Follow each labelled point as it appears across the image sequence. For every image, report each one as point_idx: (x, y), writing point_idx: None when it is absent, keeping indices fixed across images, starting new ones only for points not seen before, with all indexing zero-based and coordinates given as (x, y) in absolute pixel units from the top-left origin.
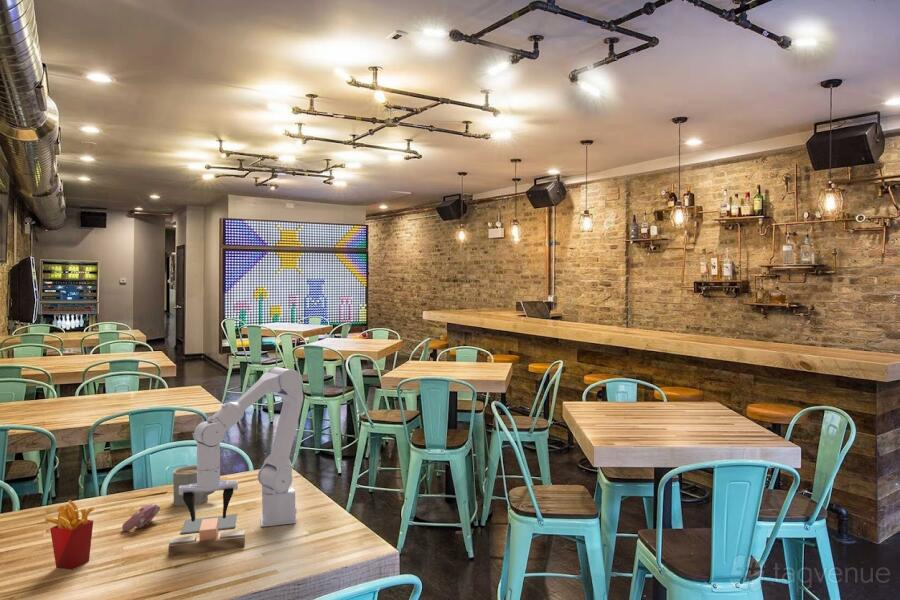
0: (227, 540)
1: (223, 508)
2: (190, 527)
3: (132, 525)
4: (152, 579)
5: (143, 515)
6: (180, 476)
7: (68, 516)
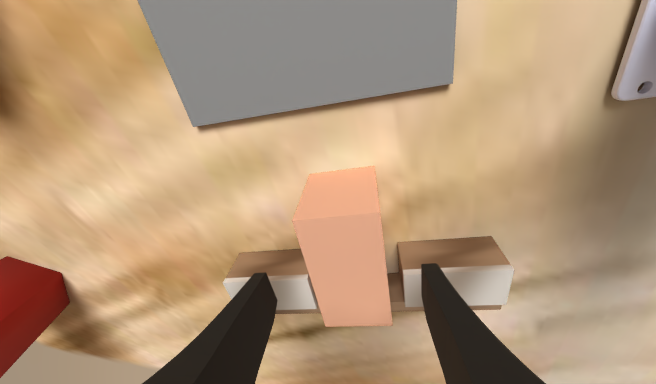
0: None
1: (444, 369)
2: (203, 57)
3: None
4: (276, 364)
5: None
6: None
7: None
